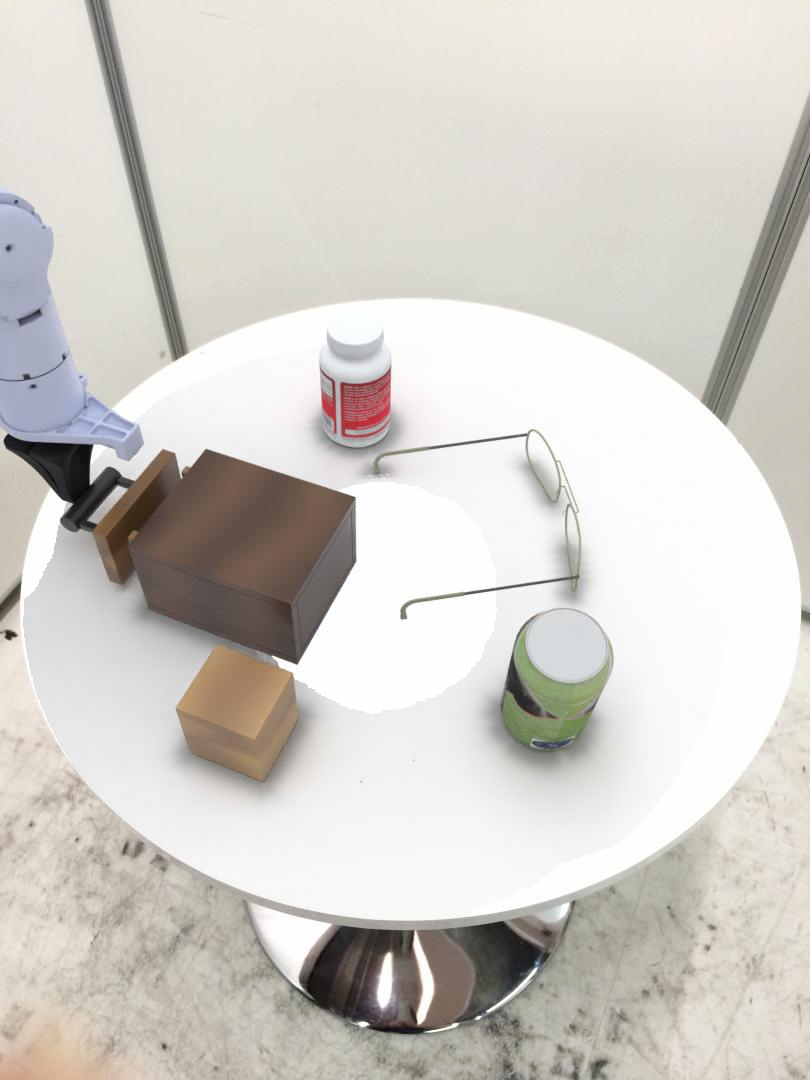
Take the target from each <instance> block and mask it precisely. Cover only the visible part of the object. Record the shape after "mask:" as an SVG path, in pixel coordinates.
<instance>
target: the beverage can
mask: <svg viewBox="0 0 810 1080" xmlns="http://www.w3.org/2000/svg"><path fill="white" fill-rule="evenodd" d="M614 656H615V655H614V649H613V645H612V642H611V640H610V638H609V636H608V635H607V632H606V631H605V630H604V628H603V627H602V625H601V624H600V623H599V621H598V620H597V619H595V618H594V616H592V615H590V614H589V613H587V612H585V611H583V610H581V609H579V608H576V607H575V608H574V607H570V606H569V607H568V606H559V607H552V608H549V609H546V610H543V611H541V612H540V611H539V612H538V613H536V614H535V615H533V616H531V617H530V618H529V619H527V620H526V621H525V622H524V623H523V625H522V626H521V627H520V628H519V630H518V632H517V634H516V636H515V640H514V642H513V647H512V651H511V656H510V659H509V663H508V667H507V668H508V669H507V673H506V676H505V682H504V684H503V690H502V694H501V700H500V712H501V717H502V720H503V722H504V725H505V727H506V728H507V730H508V731H509V733H510V734H511V735H512V737H514V738H515V739H516V740H518V741H519V742H520V743H521V744H523V745H525V746H527V747H529V748H532V749H534V750H537V751H538V750H539V751H557V750H561V749H564V748H567V747H568V746H569V745H571V744H573V743H574V742H575V741H576V740H578V739H579V738H580V736H581V735H582V733H583V732H584V731H585V728H586V726H587V724H588V721H589V720H590V718H591V716H592V714H593V712H594V710H595V707H596V706H597V704H598V702H599V700H600V697H601V695H602V694H603V692H604V690H605V687H606V685H607V683H608V681H609V679H610V678H611V675H612V673H613V668H614V663H615V662H614V660H615V657H614Z"/></svg>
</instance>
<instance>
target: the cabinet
mask: <svg viewBox="0 0 810 1080" xmlns="http://www.w3.org/2000/svg"><path fill="white" fill-rule="evenodd" d="M190 467H191V468H190V469H189V470H188V472H187V473H186V474H185V475H184V476H183V478H182V477H181V480H180V481H179V483H178V484H177V485H176V486H175V488H174V489H173V490H172V491H171V493H170V494H169V495H168V496H167V498H166V499H165V500H164V501H163V502H162V504H161V505H160V506H159V507H158V509H157V510H156V511H155V512H154V514H153V515H152V516H151V517H150V519H149V520H148V521H147V522H146V524H145V525H144V526H143V527H142V528H141V530H140V531H139V532H138V533H137V535H136V536H135V537H134V538H133V540H132V541H131V542H130V543H129V545H128V548H129V551H130V554H131V557H132V560H133V563H134V566H135V572H136V574H137V575H136V576H137V579H138V581H139V584H140V587H141V590H142V594H143V596H144V600H145V602H146V605H147V609H148V610H149V611H152V612H154V613H156V614H157V613H158V614H160V615H163V616H165V617H168V618H171V619H173V620H176V621H179V622H181V623H184V624H187V625H190V626H193V627H195V628H197V629H200V630H203V631H204V632H208V633H211V634H214V635H216V636H218V637H221V638H224V639H228V640H230V641H232V642H235V643H236V644H237V643H238V644H241V645H243V646H245V647H248V648H250V649H253V650H257V651H259V652H262V653H264V654H267V655H270V656H273V657H275V658H278V659H280V660H282V661H286V662H288V663H291V664H294V665H296V666H298V665H299V663H300V661H301V660H302V658H303V656H304V654H305V653H306V651H307V649H308V648H309V646H310V644H311V643H312V640H313V639H314V637H315V635H316V634H317V632H318V630H319V628H320V626H321V625H322V623H323V621H324V619H325V618H326V617H327V614H328V612H329V611H330V609H331V607H332V605H333V604H334V602H335V600H336V598H337V596H338V594H339V593H340V591H341V590H342V588H343V586H344V584H345V583H346V581H347V579H348V578H349V575H350V574H351V572H352V570H353V568H354V566H355V565H356V564H357V502H356V500H357V497H356V496H354V495H351V494H347V493H345V492H342V491H339V490H335V489H332V488H330V487H326V486H323V485H320V484H317V483H314V482H312V481H311V482H310V481H307V480H304V479H301V478H299V477H295V476H292V475H289V474H286V473H283V472H280V471H276V470H273V469H270V468H268V467H264V466H262V465H258V464H255V463H251V462H249V461H246V460H242V459H240V458H236V457H233V456H230V455H227V454H224V453H220V452H217V451H214V450H211V449H209V448H205V450H204V451H202V453H201V454H200V455H199V457H198V458H197V459H196V460H195V461H194V463H193V464H192V465H191V466H190Z"/></svg>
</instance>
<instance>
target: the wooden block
mask: <svg viewBox="0 0 810 1080" xmlns="http://www.w3.org/2000/svg"><path fill="white" fill-rule="evenodd" d="M295 686H296V685H295V678H294V672H292V671H289V670H286V669H284V668H281V667H279V666H276V665H274V664H271V663H268V662H266V661H263V660H260V659H257V658H255V657H252V656H250V655H247V654H244V653H241V652H239V651H236V650H234V649H231V648H228V647H226V646H223V645H221V644H216V645H215V646H214V649H213V650H212V651H211V653H210V654H209V656H208V657H207V659H206V660H205V662H204V663H203V665H202V667H201V668H200V670H199V671H198V673H197V674H196V676H195V677H194V679H193V681H192V682H191V683H190V685H189V687H188V688H187V689H186V691H185V692H184V694H183V696H182V697H181V699H180V700H179V702H178V703H177V705H176V706H175V712H176V714H177V717H178V721H179V723H180V727H181V730H182V732H183V736H184V739H185V742H186V744H187V748H188V751H189V753H190V754H193V755H195V756H197V757H200V758H203V759H205V760H207V761H210V762H213V763H215V764H217V765H220V766H221V767H224V768H228V769H229V770H232V771H234V772H237V773H239V774H241V775H244V776H247V777H249V778H252V779H254V780H257V781H259V782H261V783H264V782H265V781H266V779H267V777H268V775H269V774H270V771H271V770H272V768H273V766H274V765H275V763H276V760H277V759H278V757H279V755H280V753H281V751H282V749H283V748H284V746H285V744H286V742H287V740H288V738H289V736H291V735H290V734H291V733H292V732H293V729H294V727H295V725H296V724H297V722H298V720H299V711H298V703H297V702H298V701H297V695H296V687H295Z"/></svg>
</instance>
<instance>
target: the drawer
mask: <svg viewBox="0 0 810 1080" xmlns="http://www.w3.org/2000/svg"><path fill="white" fill-rule="evenodd" d="M191 467H192V466H189V465H186V466H185V467H184V468H183V469H182V470H181V472H180V466H179V463H178V459H177V454H176V452H174V451H170V450H168V449H164V448H162V449H161V450H160V451H159V453H158V454H157V455H156V456H155V457H154V459H153V460H151V462H150V463H149V464H148V465H147V467H146V468H145V469H144V470H143V471H142V472H141V474H139V476H138V477H137V478H136V479H134V480H133V479H131V478H128V477H124V476H123V475H122V473H121V472H120V471H119V470H118V469H116V468H115V467H112V466H106V467H105V468H104V469H103V470H102V471H101V473H100V474H99V475H98V476H96V478H95V479H94V480H93V481H92V482H91V483H90V486H89V487H88V488H87V489H86V490H85V491H84V492H83V494H82V495H81V496H80V497H79V498H78V499H77V500H76V501H75V502H74V504H71V506H70V507H69V508H68V509H67V510H66V511H65V512H64V513H63V515H61V516H60V519H59V522H60V524H61V525H62V527H63V528H64V529H65V530H67V531H69V532H71V533H78V532H79V531H80V530H83V531H85V532H88V533H90V534H92V537H93V540H94V543H95V546H96V548H97V550H98V554H99V556H100V559H101V561H102V565H103V567H104V570H105V572H106V575H107V577H108V581H109V582H111V583H114V584H116V585H120V586H124V585H125V583H126V582H127V581H128V579H129V578H130V577H131V575H133V574H134V571H136V569H135V566H134V563H133V560H132V557H131V554H130V551H129V548H128V545H129V543H130V542H131V541H132V540H133V538H134V537H135V536H136V535H137V533H138V532H139V531H140V530H141V528H142V527H143V526H144V525H145V524H146V522H147V521H148V520H149V519H150V517H151V516H152V515H153V514H154V512H155V511H156V510H157V509H158V507H159V506H160V505H161V504H162V502H163V501H164V500H165V499H166V498H167V496H168V495H169V494H170V493H171V491H172V490H173V489H174V488H175V486H176V485H177V484H178V483H179V481H180V480H181V479H182V478H183V476H184V475H185V474H186V473H187V472H188V470H189V469H190V468H191ZM118 487H121V488H124V489H126V491H125V492H124V493H123V494H122V496H121V497H120V498H119V499H118V500H117V501H116V503H115V504H114V505H113V506H112V507H111V509H110V510H109V511H108V512H107V513H106V515H105V516H104V517H103V518H102V519H101V520H100V521H99V522H98V523H95V522H93V521H89V519H90V518H91V517H92V516H93V515H94V514H95V512H96V511H97V510H98V509H99V508H100V507H101V505H103V503H104V502H105V501H106V500H107V499H108V498H109V496H110V495H111V494H112V493H113V492H114V491H115V490H116V488H118Z"/></svg>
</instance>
